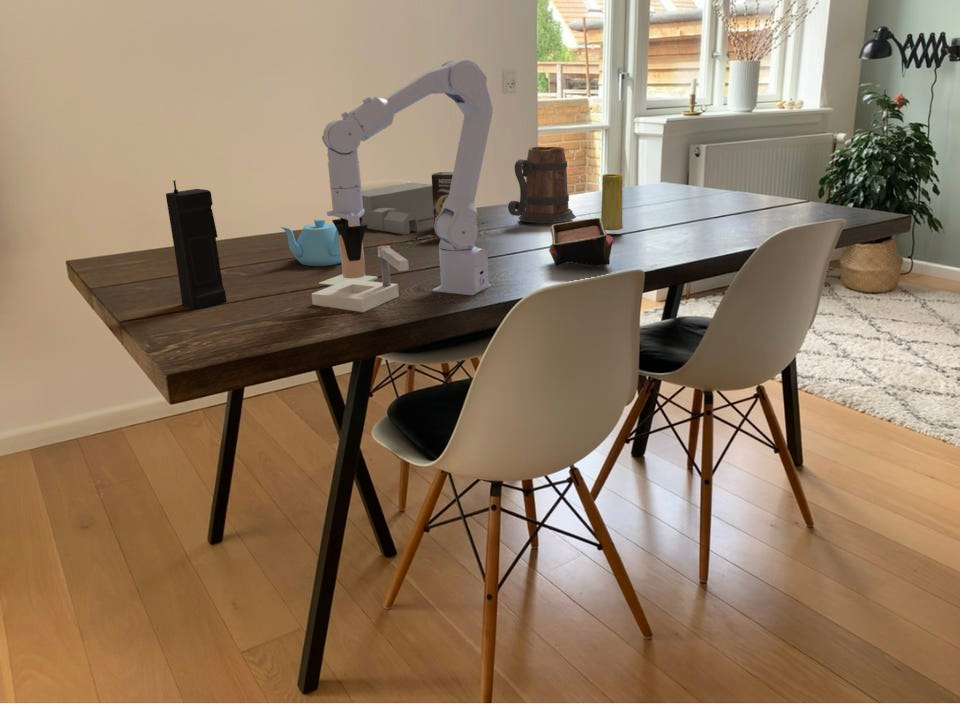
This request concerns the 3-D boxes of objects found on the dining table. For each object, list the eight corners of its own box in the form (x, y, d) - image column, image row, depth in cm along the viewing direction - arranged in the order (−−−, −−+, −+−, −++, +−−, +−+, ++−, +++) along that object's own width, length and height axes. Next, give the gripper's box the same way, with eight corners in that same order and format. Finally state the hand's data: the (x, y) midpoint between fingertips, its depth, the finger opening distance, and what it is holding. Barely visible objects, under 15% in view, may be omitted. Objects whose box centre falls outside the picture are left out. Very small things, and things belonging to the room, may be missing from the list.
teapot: (304, 256, 203) (299, 214, 199) (363, 254, 201) (359, 213, 198) (285, 269, 189) (279, 225, 186) (348, 268, 187) (343, 224, 184)
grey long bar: (376, 255, 160) (376, 246, 159) (388, 254, 160) (388, 245, 160) (398, 271, 146) (397, 261, 145) (410, 269, 147) (410, 260, 146)
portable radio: (215, 300, 165) (196, 174, 157) (233, 304, 162) (214, 176, 153) (180, 309, 160) (159, 180, 151) (198, 314, 156) (176, 181, 148)
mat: (377, 278, 177) (377, 276, 176) (352, 289, 169) (352, 286, 169) (344, 275, 181) (344, 273, 181) (318, 285, 173) (318, 282, 173)
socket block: (398, 296, 162) (396, 256, 160) (363, 312, 152) (359, 270, 150) (350, 290, 168) (346, 252, 165) (312, 306, 158) (308, 265, 155)
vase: (599, 230, 218) (599, 176, 213) (601, 226, 223) (601, 173, 219) (622, 230, 216) (623, 176, 212) (623, 226, 222) (624, 173, 217)
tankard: (545, 210, 251) (544, 144, 245) (587, 216, 240) (588, 146, 233) (490, 222, 236) (487, 151, 230) (532, 228, 225) (531, 154, 218)
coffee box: (433, 234, 222) (430, 174, 216) (441, 230, 227) (438, 171, 222) (465, 235, 219) (462, 174, 213) (472, 230, 225) (470, 171, 219)
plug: (370, 273, 159) (366, 233, 156) (356, 279, 156) (352, 237, 153) (351, 272, 161) (348, 232, 159) (338, 277, 158) (333, 236, 155)
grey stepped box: (403, 241, 216) (400, 200, 212) (348, 232, 231) (344, 193, 227) (468, 226, 233) (466, 187, 229) (413, 219, 248) (410, 182, 244)
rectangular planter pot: (547, 281, 181) (546, 239, 175) (551, 246, 196) (550, 207, 190) (613, 280, 179) (614, 238, 173) (612, 246, 194) (613, 206, 188)
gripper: (320, 183, 158) (327, 252, 163) (328, 193, 145) (336, 267, 150) (356, 180, 160) (362, 249, 165) (368, 190, 147) (374, 263, 151)
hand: (352, 257), depth 157 cm, fingers closed on plug, 4 cm apart
